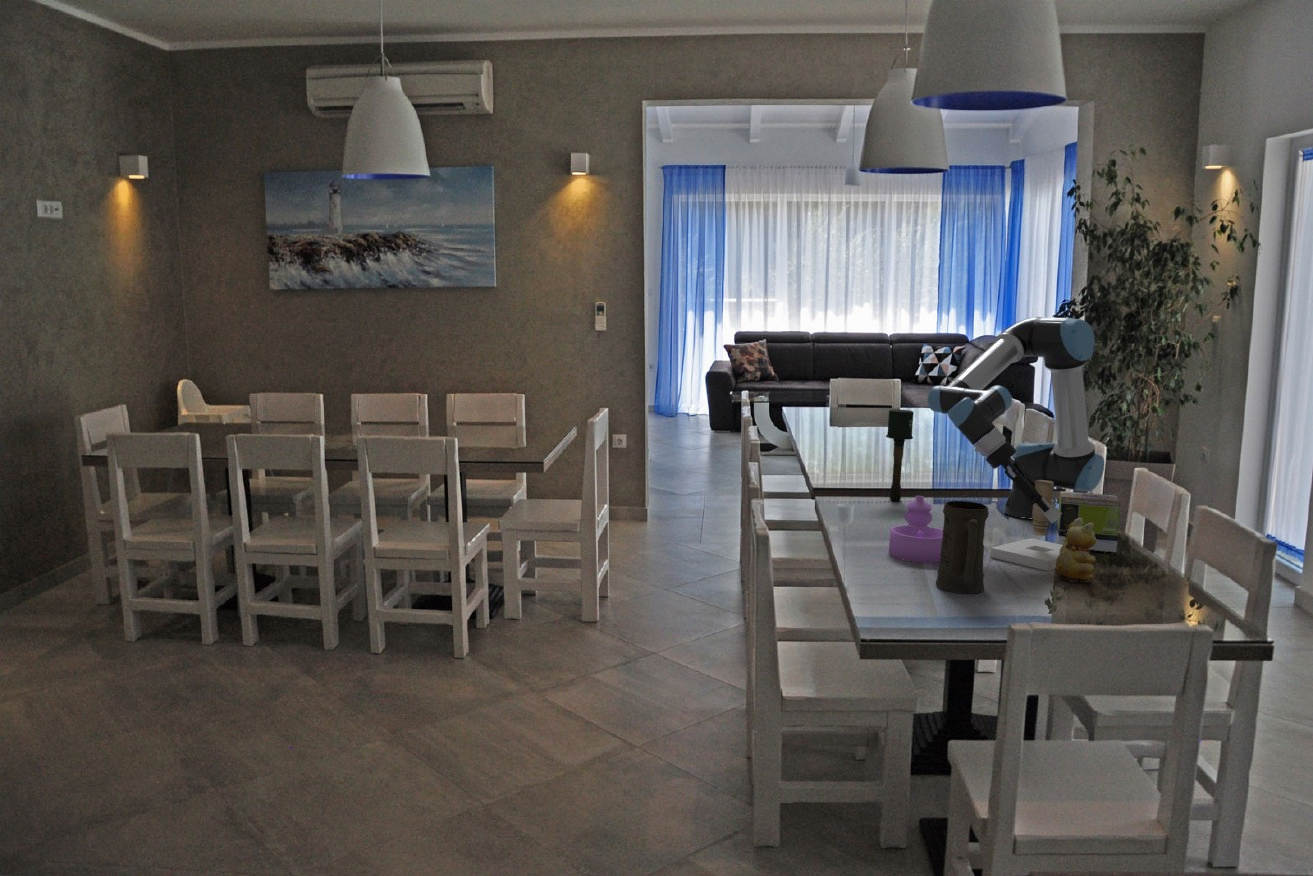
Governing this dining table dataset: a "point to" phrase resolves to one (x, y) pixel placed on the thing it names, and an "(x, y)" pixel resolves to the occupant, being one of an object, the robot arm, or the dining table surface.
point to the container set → (916, 535)
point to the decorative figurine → (1077, 553)
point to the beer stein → (962, 547)
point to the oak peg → (1038, 517)
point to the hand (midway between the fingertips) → (1056, 518)
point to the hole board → (1029, 553)
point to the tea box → (1091, 517)
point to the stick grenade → (898, 444)
